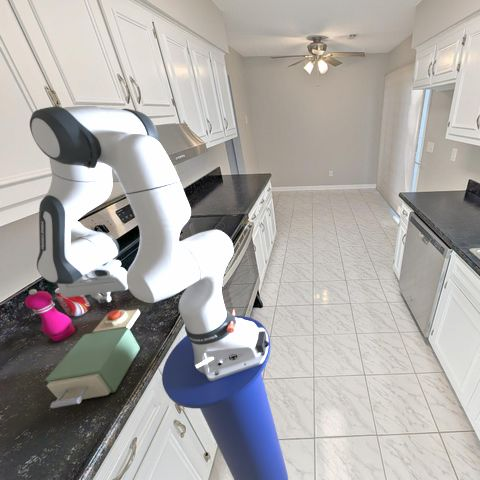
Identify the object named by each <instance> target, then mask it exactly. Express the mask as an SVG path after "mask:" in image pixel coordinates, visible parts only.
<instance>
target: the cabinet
mask: <svg viewBox="0 0 480 480" xmlns="http://www.w3.org/2000/svg"><path fill="white" fill-rule="evenodd" d="M140 349H141V348H140V345H139V344H138V342H137V340H136V338H135V336H134V335H133V333H132V330H131V328H130V329H129V328H124V329H117V330H111V331H104V332H97V333H93V332H91V333H84V334H83V335H82V336H81V337H80V338H79V340H78V341H77V342H76V343H75V344H74V346H72V348H71V349H70V350H69V351H68V353H67V354H66V355H65V356H64V357H63V359H61V360H60V362H59V363H58V364H57V365H56V366H55V367H54V369H53V370H52V371H51V372H50V373H49V375H47V377H46V378H45V381H46V382H47V384H48V383H49V382H50V381H56V380H61V379H66V378H72V377H78V376H84V375H90V374H95V373H98V374H99V375H100V376H101V378H102V379H103V380H104V382H105V383H106V385H107V386H108V387H109V389H110V390H111V391H110V393H109V394H113V393H115V392H116V391H117V389H118V387H119V386H120V384H121V382H122V381H123V379H124V377H125V375H126V373H127V372H128V371H129V369H130V367H131V365H132V363H133V362H134V359H135V358H136V357H137V354H138V353H139V351H140Z"/></svg>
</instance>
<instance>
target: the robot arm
mask: <svg viewBox="0 0 480 480" xmlns="http://www.w3.org/2000/svg"><path fill="white" fill-rule="evenodd" d="M29 129H30V133H31V135H32V138H33V140H34V142H35V144H36V145H37V146H38V148H39V149H40V151H41V152H42V153H43V154H44V155H45V156H46V157H48V159H49V167H50V170H51V181H50V186H49V188H48V191H47V193H46V195H45V196H44V197H43V198H42V200H41V201H40V203H39V209H38V233H39V234H38V235H39V238H38V240H39V252H38V256H37V259H36V269H37V271H38V273H39V275H40V276H41V277H42V278H43V279H44V280H45V281H47V282H49V283H52V284H56V285H57V288H59V289H60V292H61V293H62V295H63V296H65V297H67V298H68V297H76V296H84V295H85V296H90V297H91V298H93V299H95V300H96V301H98V303H99V304H105V303H110V302H111V301H112V296H111V293H115V292H122V291H127V290H128V291H129V292H130V294H131V295H132V296H134V297H135V298H136V299H137V300H139V301H142V302H145V303H148V304H154V303H157V302H161V301H164V300H163V299H165V300H167V299H166V298H168V297H170V298H172V297H174V296H176V295H177V294H179V293H180V292H182V291H183V290H184V292H183V293H182V294H181V296H180V298H179V301H178V312H179V315H180V316H181V319H182V322H183V324H184V330H185V333H186V336H188V339H189V340H190V341H191V342H192V346H193V350H194V364H195V367H196V369H197V370H198V371H200V372H201V373H204V374H205V375H206V377H207V378H208V380H209V381H214V380H217V379H220V378H223V377H226V376H228V375H231V374H234V373H237V372H240V371H243V370H246V369H249V368H252V367H255V366H258V365H260V364H262V363H263V361H264V360H265V358H266V355H267V352H268V345H269V342H268V335H267V333H266V331H265V329H266V328H265V329H264V328H257V326H256V324H255V323H253V322H252V321H247V320H243V319H242V318H236V317H235V316H236V312H235V311H236V310H235V309H233V310H232V313H231V312H230V311H229V310H228V309H227V308H226V306H225V302H224V301H225V300H224V298H223V292H222V291H223V290H222V287H223V280H224V277H225V273H226V269H227V267H228V265H229V263H230V261H231V259H232V257H233V256H234V245H233V241H232V239H231V238H230V236H228V234H226V233H225V232H223V231H222V230H221V229H210V230H204V231H201V232H198V233H195V234H192V235H191V236H188V237H186V238H184V239H182V240H180V234H181V231H182V229H183V228H184V226H185V225H187V223H188V222H189V220H190V218H191V215H192V208H191V206H190V205H191V204H190V203H189V200H188V198H187V196H186V193H185V190H184V187H183V185H182V182H181V181H180V177H179V176H178V173H177V171H176V169H175V166H174V164H173V163H172V161H171V159H170V157H169V155H168V154H167V152H166V150H165V149H164V147H163V145H162V144H161V143H160V142H159V132H158V129H157V127H156V125H155V124H154V122H153V120H151V118H150V117H149V116H148V115H146V114H145V113H143V112H141V111H139V110H136V109H135V110H134V109H131V108H122V109H120V108H115V107H114V108H113V107H105V106H104V107H101V106H96V105H78V106H77V105H75V106H66V107H62V106H56V105H55V106H48V107H43V108H40V109H37V110H34V111H33V112H32V114H31V116H30V119H29ZM112 170H113V172H114V173H115V175H116V177H117V179H118V181H119V184H120V187H121V188H122V191H123V193H124V195H125V197H126V200H127V202H128V203H129V207H130V208H131V210H132V213H133V215H134V218H135V220H136V223H137V226H138V230H139V245H138V250H137V253H136V255H135V257H134V260H133V261H132V263H131V264H130V266H129V267H128V269H127V270H126V269H125V268H124V267H123V266H122V262H121V260H119V259H115V258H116V257H118V256H119V253H120V245H119V242H118V240H117V238H115V236H114V235H112V234H110V233H108V232H105V231H101V230H100V231H96V230H94V229H93V230H92V229H90V228H87V227H86V226H84V225H83V224H82V223H81V222H80V221H78V220H80V219H81V218H82V217H84V216H85V215H86V214H87V213H89V212H91V211H93V210H94V209H95V208H97V207H99V206H100V205H102V204H103V203H104V202H106V201H107V200H108V199H109V197H110V196H111V194H112V191H113V186H114V180H113V172H112ZM171 296H172V297H171ZM168 299H169V298H168ZM160 300H161V301H160ZM217 374H218V375H217Z"/></svg>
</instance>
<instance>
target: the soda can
mask: <svg viewBox="0 0 480 480" xmlns="http://www.w3.org/2000/svg"><path fill="white" fill-rule="evenodd" d="M54 292H55V294H54V295H55V298H56V300H57V302H58V303H59V305H60V306H61V307H62V309H63V310H64V312H65V314H66V315H67V316H68V317H72V318H73V317H79V316H82V315H85V314H86V313H87V312H88V311H89V310H90V308H91V304H90V303H89V301H88V299H87V297H86V295H84V296H76V297H68V298H67V297H65V296H63V295H62V293H61V292H60V289H59V287H57V288H56V289H55V290H54Z"/></svg>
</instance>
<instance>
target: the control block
mask: <svg viewBox="0 0 480 480" xmlns="http://www.w3.org/2000/svg"><path fill="white" fill-rule="evenodd" d="M118 310H119V312H120V314H121V315H120V317H118V318H117V319H114V320H109V319H108V317H107V314H106V315H105V316H104V318H102V320H101V321H100V322H99V323H98V325H97V326H96V327H95V328H94V330H93V331H92V333H97V332H104V331H111V330H117V329H124V328H129V329H130V330H131V329H132V328H133V325H134V324H135V322H136V321H137V319H138V318H139V317H140V315H141V311H140V310H139V308H137V309H130V310H125V309H118Z"/></svg>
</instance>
